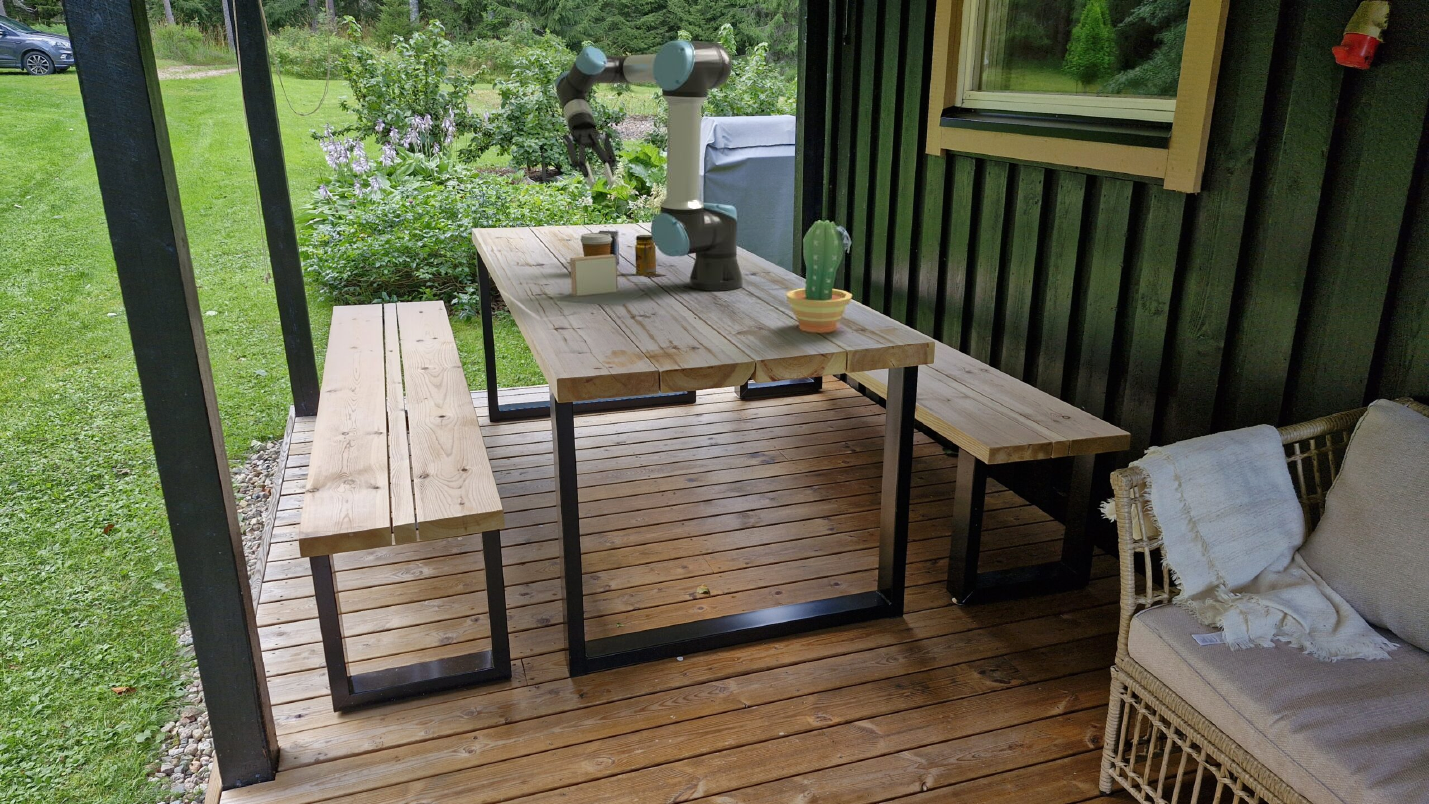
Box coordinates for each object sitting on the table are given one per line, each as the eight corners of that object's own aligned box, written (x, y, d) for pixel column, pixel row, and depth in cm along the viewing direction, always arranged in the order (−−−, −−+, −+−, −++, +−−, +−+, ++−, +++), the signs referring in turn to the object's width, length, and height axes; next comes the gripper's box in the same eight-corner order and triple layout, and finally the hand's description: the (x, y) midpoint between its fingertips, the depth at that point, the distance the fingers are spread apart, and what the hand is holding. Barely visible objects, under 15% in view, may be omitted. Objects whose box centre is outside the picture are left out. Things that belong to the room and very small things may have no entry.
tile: (572, 294, 249) (570, 258, 246) (613, 290, 254) (612, 254, 251) (575, 297, 246) (573, 260, 243) (618, 292, 251) (616, 256, 248)
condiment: (630, 275, 278) (629, 235, 274) (653, 272, 283) (652, 232, 279) (643, 279, 272) (642, 238, 268) (667, 275, 277) (666, 235, 273)
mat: (646, 294, 252) (646, 292, 252) (620, 308, 237) (620, 305, 237) (583, 290, 258) (583, 287, 258) (554, 302, 243) (554, 300, 242)
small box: (616, 269, 287) (615, 235, 283) (595, 269, 287) (594, 235, 284) (620, 263, 297) (619, 230, 293) (600, 263, 297) (598, 230, 294)
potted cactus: (836, 339, 208) (840, 227, 200) (774, 331, 215) (776, 222, 207) (860, 324, 220) (866, 219, 212) (801, 317, 228) (804, 214, 219)
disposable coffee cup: (611, 278, 274) (610, 237, 270) (579, 278, 274) (577, 237, 270) (615, 271, 283) (613, 232, 279) (584, 271, 283) (582, 232, 279)
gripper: (607, 129, 269) (629, 192, 260) (547, 130, 261) (568, 195, 252) (612, 110, 262) (636, 174, 254) (551, 111, 255) (573, 177, 246)
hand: (602, 184), depth 253 cm, fingers open, 5 cm apart
